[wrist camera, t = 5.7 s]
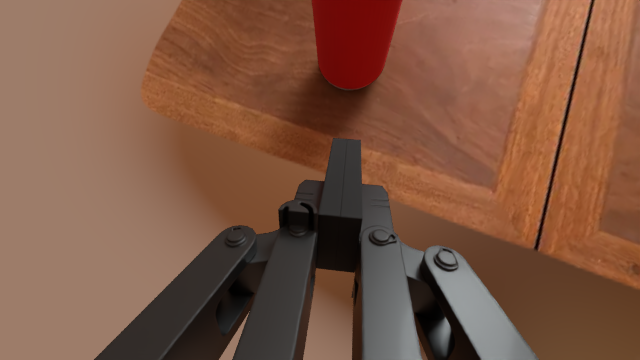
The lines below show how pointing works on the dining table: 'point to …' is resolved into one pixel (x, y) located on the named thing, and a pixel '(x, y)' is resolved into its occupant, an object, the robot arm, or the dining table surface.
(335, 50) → the beverage can
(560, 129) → the dining table surface
